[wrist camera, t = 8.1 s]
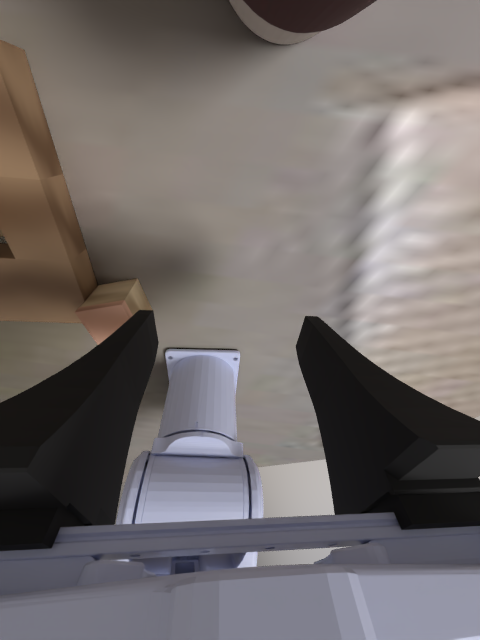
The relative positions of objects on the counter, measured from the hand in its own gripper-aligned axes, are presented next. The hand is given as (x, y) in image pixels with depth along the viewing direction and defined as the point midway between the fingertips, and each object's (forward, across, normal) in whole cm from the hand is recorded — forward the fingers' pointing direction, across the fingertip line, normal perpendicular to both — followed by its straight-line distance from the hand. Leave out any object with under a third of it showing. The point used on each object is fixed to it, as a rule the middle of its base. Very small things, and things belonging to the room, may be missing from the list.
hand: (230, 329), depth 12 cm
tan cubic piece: (+10, +9, +5) cm, 14 cm away
